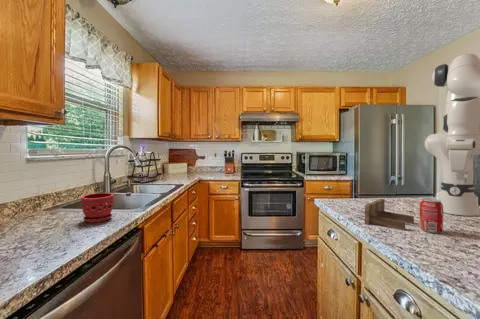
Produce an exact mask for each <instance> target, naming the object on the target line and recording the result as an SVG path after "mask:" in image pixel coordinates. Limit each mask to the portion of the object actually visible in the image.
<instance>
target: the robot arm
mask: <svg viewBox="0 0 480 319" xmlns="http://www.w3.org/2000/svg"><path fill="white" fill-rule="evenodd" d="M431 79H432V83H434V86H436V87H440V88H441V87H442V88H444V87H447V89H448V90H447V93H446V98H445V108H444V116H443V117H442V118H443V125H442V126H443V127H442V130H443V131H444V132H437V133H432V134H430V135H428V136H427V137H426V138H425V140H424V148H425V149H426V151H427V152H428V153H429V154H431V155H432V156H434V157H435V158H436V159H437V160H438V162H439V164H440V166H441V173H442V175H441V176H442V180H441V182H440V191H438V192H437V193H436V199H438V200H441V203H442V205H443V214H444V213H445V214H449V215H454V216H455V215H456V216H466V217H467V216H468V217H470V216H472V217H473V216H474V217H475V216H477V217H478V216H479V217H480V204H479V197H478V196H477V195H476V194H475V193H474V192H475V188H476V187H475V184H474V156H476V155H480V57H479V56H478V55H476V54H474V53H464V54H463V53H462V54H461V55H458V56H457V57H455V58H454V59H452V61H451V62H449V63H443V64H439V65H438V66H436V68H434V71H433V73H432V76H431Z"/></svg>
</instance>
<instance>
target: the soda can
mask: <svg viewBox="0 0 480 319" xmlns="http://www.w3.org/2000/svg"><path fill="white" fill-rule="evenodd" d="M418 223H419V229H421V230H422V231H423V232H426V233H429V232H430V233H431V234H440V233H441V232H443V229H444V212H443V205H442V203H441V200H438V199H437V198H431V197H430V198H429V197H427V198H425V197H423V198H421V201H420V203H419V221H418Z"/></svg>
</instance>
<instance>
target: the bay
mask: <svg viewBox="0 0 480 319" xmlns="http://www.w3.org/2000/svg"><path fill="white" fill-rule="evenodd" d="M385 202H386V200H385V199H384V198H380V199H377V200H374V201H370V202H369V203H367V204H365V205H364V224H365V225H371V224H372V225H378V226H382V227H387V228H392V229H396V230H399V231H400V230H401V231H405V230H406V224H410V223H411V225H413V224H415V219H414V218H415V216H414V215H411V214H410V215H409V214H404V213H396V212H391V211H386V210H385V208H386V207H385V204H386V203H385Z"/></svg>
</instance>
